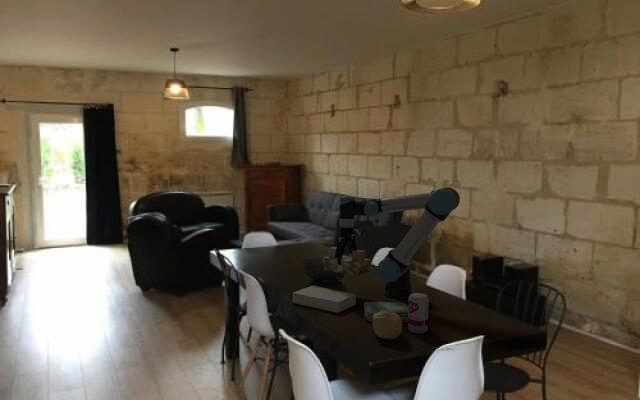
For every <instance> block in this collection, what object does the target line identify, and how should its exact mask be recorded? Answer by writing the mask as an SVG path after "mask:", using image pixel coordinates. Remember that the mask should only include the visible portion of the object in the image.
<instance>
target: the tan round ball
mask: <svg viewBox="0 0 640 400" xmlns="http://www.w3.org/2000/svg"><path fill="white" fill-rule="evenodd" d="M372 328H373V330H374V333H375V335H376V336H377V337H378V338H380V339H381V340H394V339H396V338H398V337H399V336H400V335H401V333H402V331H403V322H402V321H401V317H399V315H398V314H396V313H395V312H392V311H388V310H387V311H383V310H381V311H380V312H378V313H376V314H374V315H373V321H372Z"/></svg>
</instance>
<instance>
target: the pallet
mask: <svg viewBox="0 0 640 400" xmlns="http://www.w3.org/2000/svg"><path fill="white" fill-rule="evenodd" d="M342 258H343V271H338V258H331V257H328V255H326V256H323V257H322V263H323V267H324V268H323V271H325V272H330V273H331V272H332V273H333V272H334V273H338V274H343V275H344V274H346V275H351V276H356V277H357V276H360V275H363V274H365V273H368V272H369V268H370V267H369V265H371V259H370V258H365V260H364V261H361V262H360V261H352V257H350V255H343V256H342Z"/></svg>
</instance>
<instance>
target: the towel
mask: <svg viewBox="0 0 640 400" xmlns="http://www.w3.org/2000/svg"><path fill="white" fill-rule="evenodd" d="M363 309H364V317H365V320H367V321H368V322H373V315H374V314H376V313H378V312H380V311H381V310H383V311H387V310H388V311H392V312H395V313H396V314H398V315H399V317H401V321H402V323H406V322H407V323H408V304H406V303H405V302H398V301H397V302H396V301H393V302H392V301H391V302H390V301H388V302H387V301H365V302H363Z"/></svg>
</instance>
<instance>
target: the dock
mask: <svg viewBox="0 0 640 400" xmlns="http://www.w3.org/2000/svg"><path fill="white" fill-rule="evenodd" d="M356 296H357V294H356V293H354V292H352V293H351V292H347V291H341V290H337V289H331V288H326V287H322V286H321V287H320V286H316V285H310V286H308V287H306V288H302V289H299V290H297V291H293V292H292V303H293V304H297V305H301V306H304V307H305V306H306V307H309V308H315V309H320V310H323V311H327V312H332V313H336V314H337V313H338V314H339V313H341V312H344V311H345V310H347V309H349V308H352V307H354V306H355V305H356V302H357V297H356Z"/></svg>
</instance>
